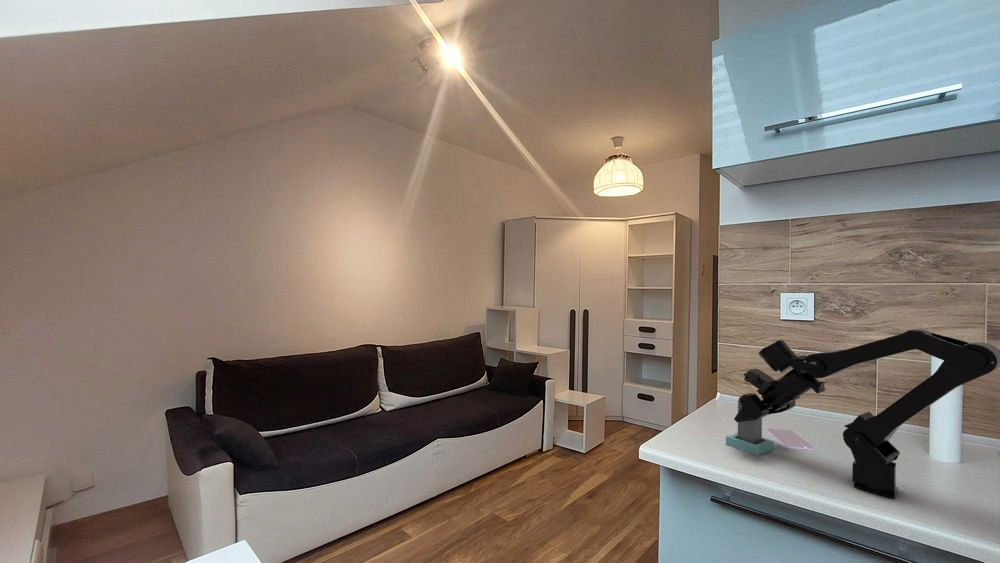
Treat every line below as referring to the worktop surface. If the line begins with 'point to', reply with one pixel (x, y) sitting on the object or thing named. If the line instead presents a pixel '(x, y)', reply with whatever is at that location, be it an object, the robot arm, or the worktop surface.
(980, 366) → the robot arm
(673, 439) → the worktop surface
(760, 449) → the socket block
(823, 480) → the worktop surface
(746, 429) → the grey rectangular block
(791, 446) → the mobile phone
